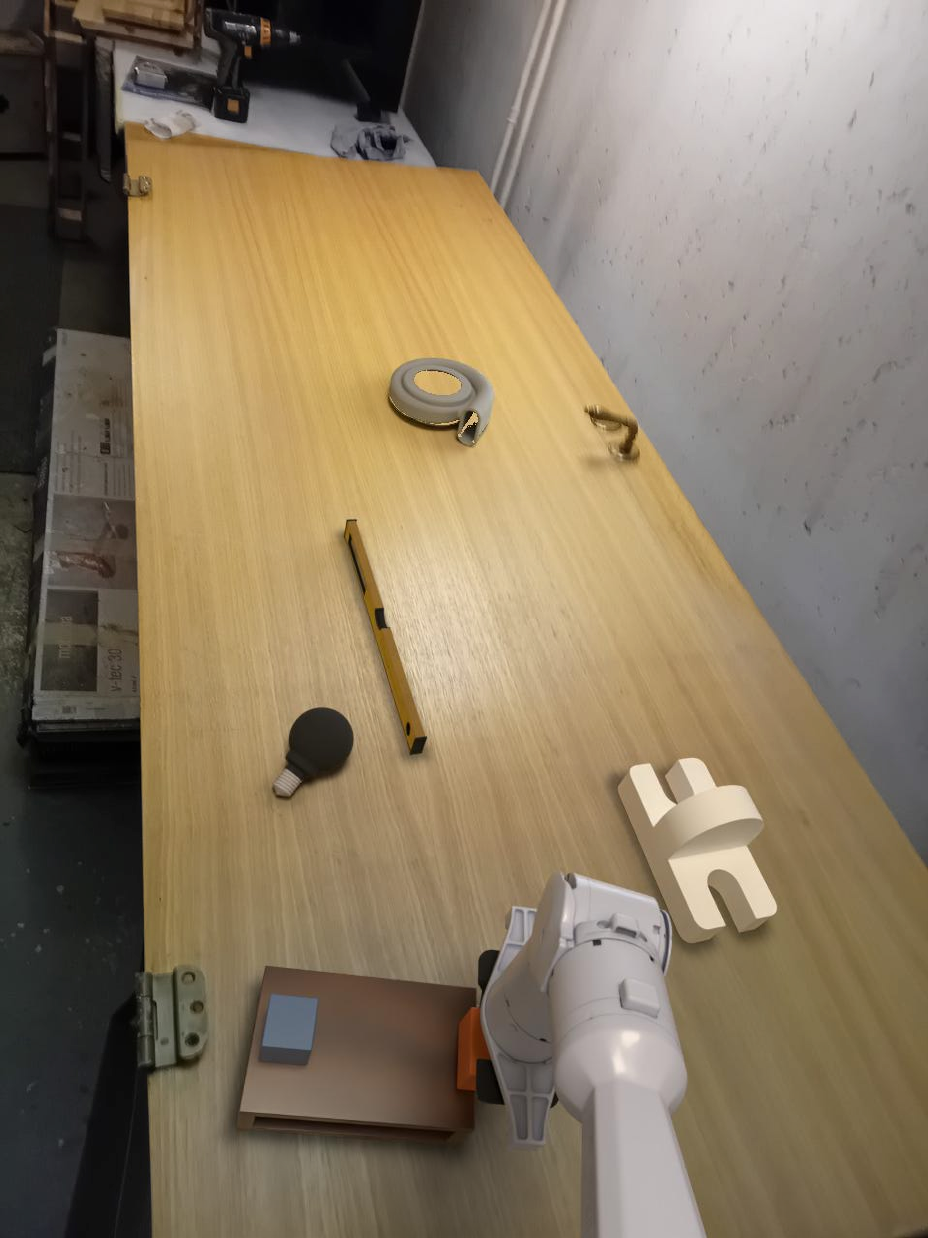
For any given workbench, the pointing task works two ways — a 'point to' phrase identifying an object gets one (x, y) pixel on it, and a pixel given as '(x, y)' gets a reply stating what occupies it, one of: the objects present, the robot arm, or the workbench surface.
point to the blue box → (289, 1029)
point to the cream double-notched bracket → (699, 847)
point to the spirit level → (385, 640)
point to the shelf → (364, 1062)
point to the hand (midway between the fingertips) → (492, 1053)
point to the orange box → (470, 1049)
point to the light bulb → (315, 747)
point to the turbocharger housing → (444, 396)
